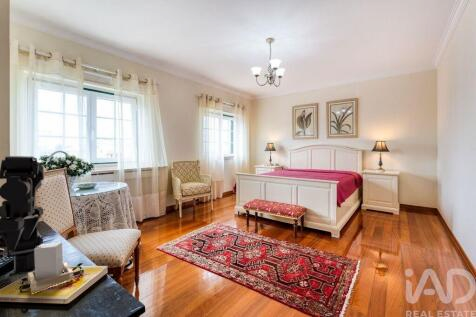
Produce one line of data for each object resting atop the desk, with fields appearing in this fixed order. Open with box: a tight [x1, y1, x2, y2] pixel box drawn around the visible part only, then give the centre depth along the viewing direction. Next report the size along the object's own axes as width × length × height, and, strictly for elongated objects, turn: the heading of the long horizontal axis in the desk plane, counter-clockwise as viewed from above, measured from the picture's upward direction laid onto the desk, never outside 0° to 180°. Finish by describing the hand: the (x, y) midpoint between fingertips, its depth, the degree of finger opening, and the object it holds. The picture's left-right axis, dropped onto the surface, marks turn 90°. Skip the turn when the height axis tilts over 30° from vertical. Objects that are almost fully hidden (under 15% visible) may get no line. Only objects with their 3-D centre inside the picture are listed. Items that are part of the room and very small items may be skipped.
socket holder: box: [27, 261, 74, 294], centre depth 72 cm, size 10×10×3 cm
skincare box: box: [34, 242, 64, 282], centre depth 72 cm, size 6×4×12 cm
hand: (19, 244), depth 69 cm, fingers open, 9 cm apart
